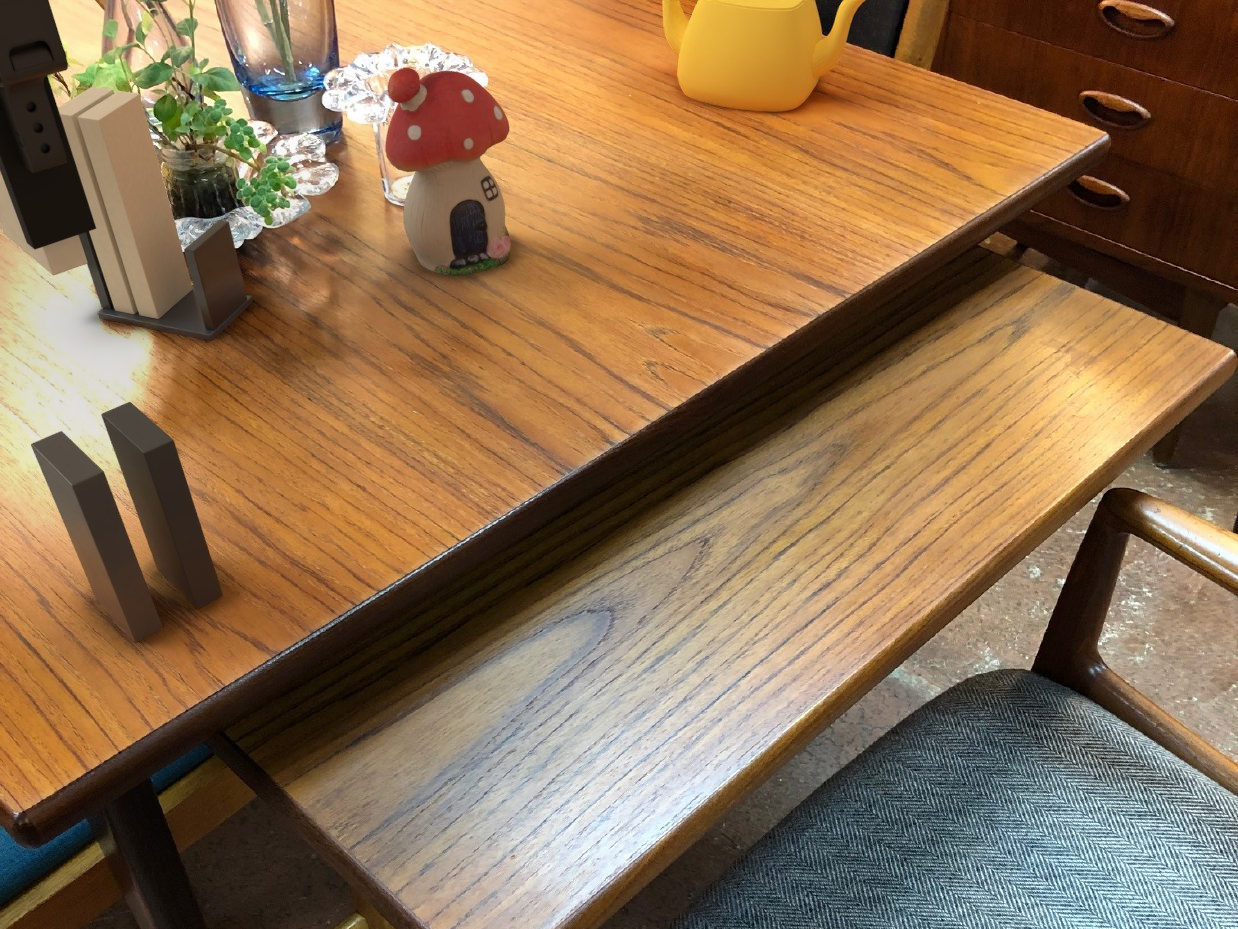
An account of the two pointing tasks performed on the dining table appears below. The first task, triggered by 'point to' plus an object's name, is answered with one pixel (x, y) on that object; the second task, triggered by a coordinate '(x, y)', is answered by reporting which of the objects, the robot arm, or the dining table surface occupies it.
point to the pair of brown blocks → (158, 507)
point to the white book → (50, 256)
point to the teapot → (754, 50)
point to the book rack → (202, 307)
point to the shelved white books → (126, 201)
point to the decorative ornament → (449, 170)
